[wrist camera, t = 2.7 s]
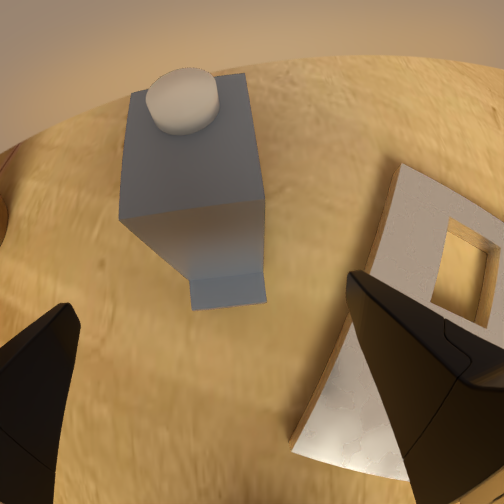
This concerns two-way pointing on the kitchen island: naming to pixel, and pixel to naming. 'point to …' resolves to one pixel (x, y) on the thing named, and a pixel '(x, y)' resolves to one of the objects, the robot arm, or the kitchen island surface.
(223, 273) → the block
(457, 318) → the plate
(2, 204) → the plant pot
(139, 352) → the kitchen island surface
